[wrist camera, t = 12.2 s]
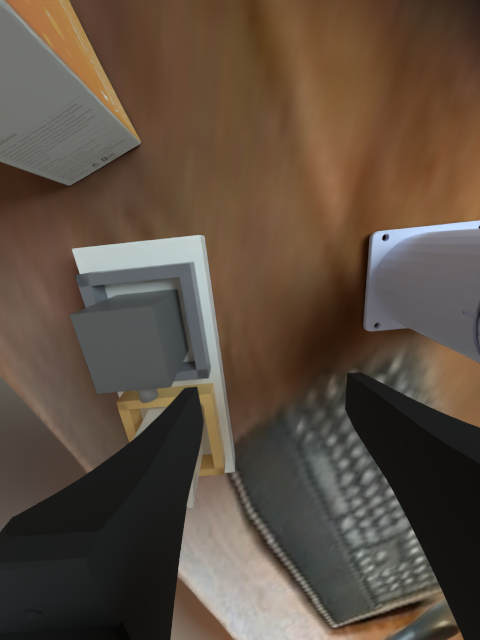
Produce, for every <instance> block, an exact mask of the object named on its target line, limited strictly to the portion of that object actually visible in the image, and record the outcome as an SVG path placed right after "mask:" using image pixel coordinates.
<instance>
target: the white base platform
mask: <svg viewBox="0 0 480 640" xmlns="http://www.w3.org/2000/svg"><path fill="white" fill-rule="evenodd" d="M72 251H73V254H74V257H75V260H76V264H77V267H78V270H79V273H80V274H79V275H75V277H76V280H77V283H78V286H79V289H80V292H81V296H82V299H83V302H84V305H85V308H87V307H89V306H92V305H94V304H96V303H99V302H101V301H104V300H106V299H108V298H111V297H113V296H116V295H121V294H131V293H141V292H151V291H161V290H171V289H177V291H178V296H179V302H180V307H181V312H182V317H183V323H184V328H185V333H186V339H187V344H188V349H189V351H188V353H187V355H186V357H185V359H184V361H183V363H182V365H181V368H180V370H179V372H178V374H177V376H176V378H175V380H174V382H173V384H172V386H171V387H169V388H158V389H157V390H158V397H157V398H156V399H155V400H153V401H151V402H148V403H142V402H141V401H140V399H139V395H138V392H137V390H135V391H124V392H117V393H118V396H119V399H118V400H117V402H116V403H117V406H118V409H119V413H120V416H121V419H122V422H123V425H124V428H125V431H126V434H127V437H128V440H129V443H130V442H131V441H132V440H133V438H134V436H135V434H136V433H137V431H138V429H139V427H140V425H141V423H142V422H143V420H144V418H145V416H146V414H147V412H148V411H149V409H150V408H153V407H165V406H169V404H170V403H171V402H172V401H173V400H174V399H175V398H176V397H177V396H178V395H179V394H180V392H181V391H182V390H183V389H184V388H187V387H198V393H199V398H200V404H201V406H203V408H204V446H203V455H202V461H201V467H200V473H199V476H210V475H223V474H225V473H228V472H235V450H234V443H233V436H232V429H231V422H230V415H229V408H228V401H227V394H226V386H225V379H224V372H223V365H222V358H221V351H220V344H219V337H218V330H217V323H216V316H215V308H214V301H213V294H212V287H211V280H210V273H209V266H208V259H207V252H206V245H205V237H204V236H202V235H195V236H186V237H177V238H168V239H158V240H149V241H140V242H131V243H121V244H112V245H103V246H94V247H84V248H75V249H72Z"/></svg>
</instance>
